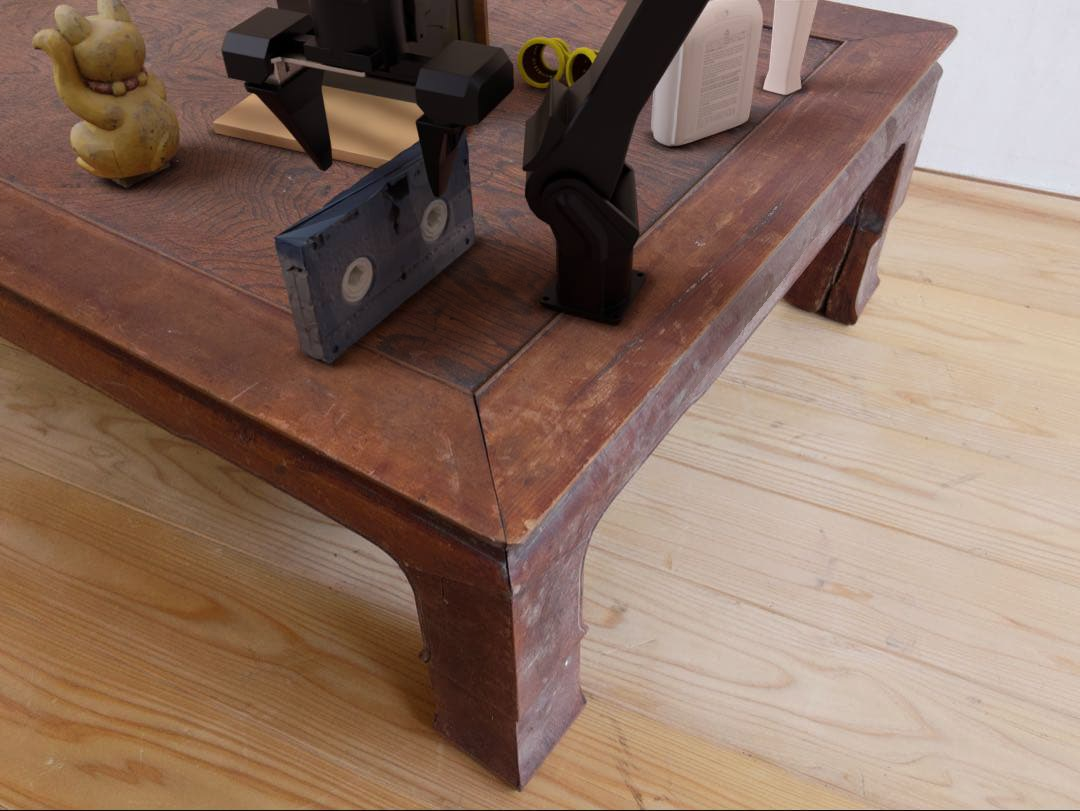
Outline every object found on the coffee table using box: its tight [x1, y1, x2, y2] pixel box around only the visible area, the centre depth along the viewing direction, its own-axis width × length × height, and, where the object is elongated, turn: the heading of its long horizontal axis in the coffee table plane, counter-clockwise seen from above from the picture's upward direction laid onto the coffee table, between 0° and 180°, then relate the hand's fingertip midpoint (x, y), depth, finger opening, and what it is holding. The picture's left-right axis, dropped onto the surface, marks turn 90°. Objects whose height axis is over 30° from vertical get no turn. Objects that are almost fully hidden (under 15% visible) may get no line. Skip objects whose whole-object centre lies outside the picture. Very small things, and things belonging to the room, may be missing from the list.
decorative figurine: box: [31, 0, 181, 189], centre depth 85 cm, size 10×8×15 cm
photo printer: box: [650, 0, 764, 147], centre depth 89 cm, size 10×4×12 cm, turn 123°
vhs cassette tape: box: [273, 130, 476, 365], centre depth 72 cm, size 18×3×10 cm, turn 146°
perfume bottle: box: [762, 0, 819, 96], centre depth 95 cm, size 5×4×15 cm
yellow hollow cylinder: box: [516, 36, 600, 89], centre depth 99 cm, size 10×5×5 cm, turn 58°
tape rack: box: [212, 0, 490, 169], centre depth 93 cm, size 18×22×11 cm
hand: (382, 180), depth 69 cm, fingers open, 9 cm apart
